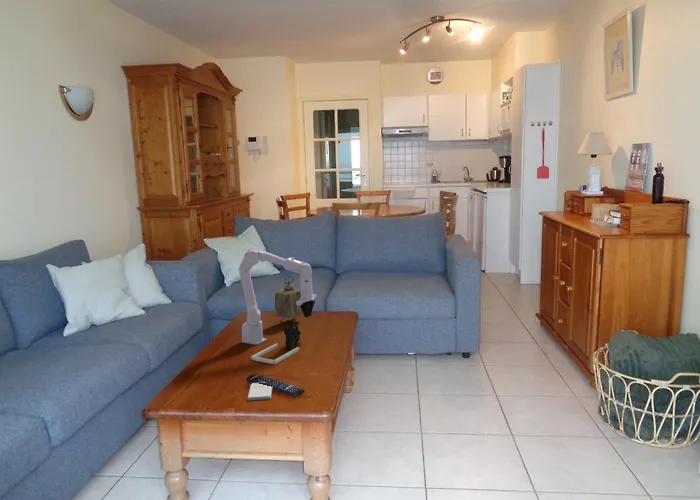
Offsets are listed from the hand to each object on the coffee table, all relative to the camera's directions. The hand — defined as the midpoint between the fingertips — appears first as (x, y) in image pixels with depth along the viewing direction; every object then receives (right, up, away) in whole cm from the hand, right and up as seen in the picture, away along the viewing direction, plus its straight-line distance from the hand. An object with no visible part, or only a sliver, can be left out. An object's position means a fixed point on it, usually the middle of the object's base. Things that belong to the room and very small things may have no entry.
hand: (307, 316), depth 248 cm
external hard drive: (-13, -21, -57) cm, 62 cm away
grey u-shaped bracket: (-12, -14, -20) cm, 28 cm away
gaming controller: (-6, -13, -9) cm, 16 cm away
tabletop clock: (-11, -7, +27) cm, 29 cm away
